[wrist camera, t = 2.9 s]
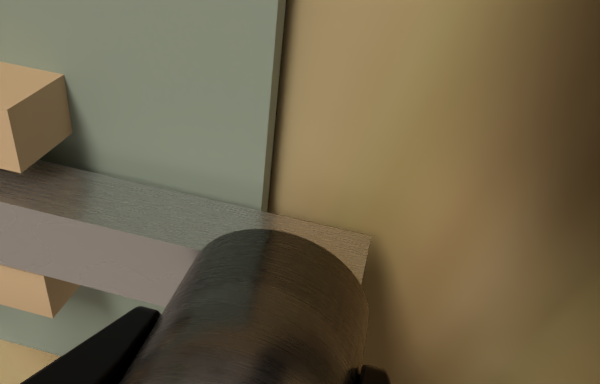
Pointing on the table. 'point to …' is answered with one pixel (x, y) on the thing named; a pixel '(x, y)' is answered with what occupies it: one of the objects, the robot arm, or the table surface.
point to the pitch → (133, 120)
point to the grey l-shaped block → (197, 276)
